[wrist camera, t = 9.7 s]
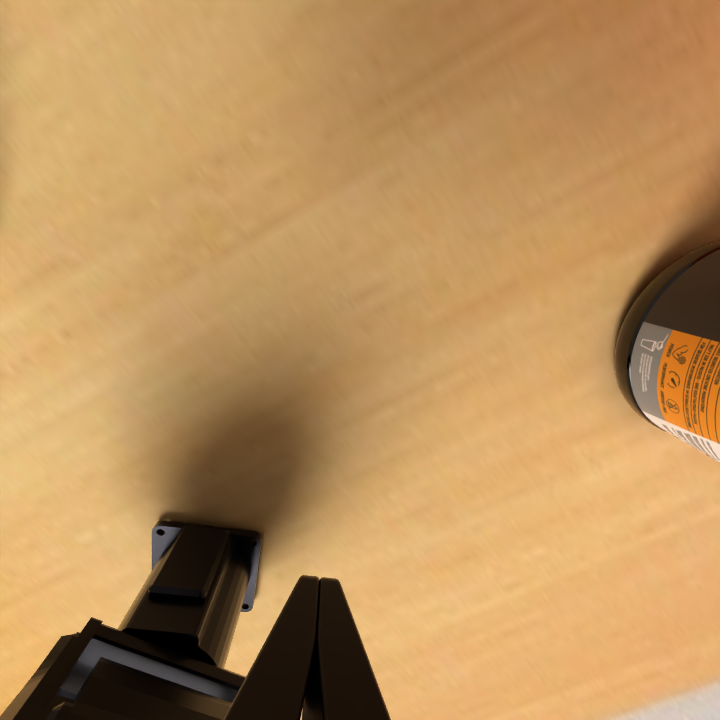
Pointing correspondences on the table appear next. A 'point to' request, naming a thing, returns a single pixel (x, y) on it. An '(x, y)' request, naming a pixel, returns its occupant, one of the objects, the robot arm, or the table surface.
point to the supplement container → (676, 351)
